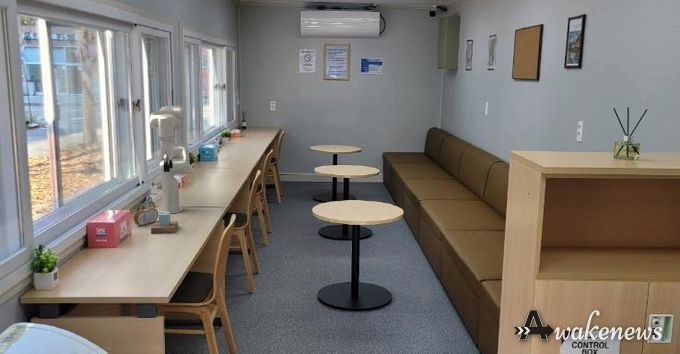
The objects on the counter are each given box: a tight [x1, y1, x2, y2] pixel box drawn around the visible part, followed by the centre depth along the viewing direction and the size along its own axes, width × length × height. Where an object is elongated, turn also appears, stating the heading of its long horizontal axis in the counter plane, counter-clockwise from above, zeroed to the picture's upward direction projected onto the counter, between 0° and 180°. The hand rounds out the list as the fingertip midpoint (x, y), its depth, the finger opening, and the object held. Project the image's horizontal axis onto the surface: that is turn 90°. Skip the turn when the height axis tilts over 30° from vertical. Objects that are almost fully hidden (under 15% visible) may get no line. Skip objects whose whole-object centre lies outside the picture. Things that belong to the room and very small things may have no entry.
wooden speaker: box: [133, 207, 159, 227], centre depth 316 cm, size 15×3×8 cm, turn 149°
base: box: [150, 220, 179, 235], centre depth 304 cm, size 12×12×3 cm
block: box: [158, 212, 171, 226], centre depth 303 cm, size 5×5×6 cm
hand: (168, 170), depth 313 cm, fingers open, 9 cm apart
